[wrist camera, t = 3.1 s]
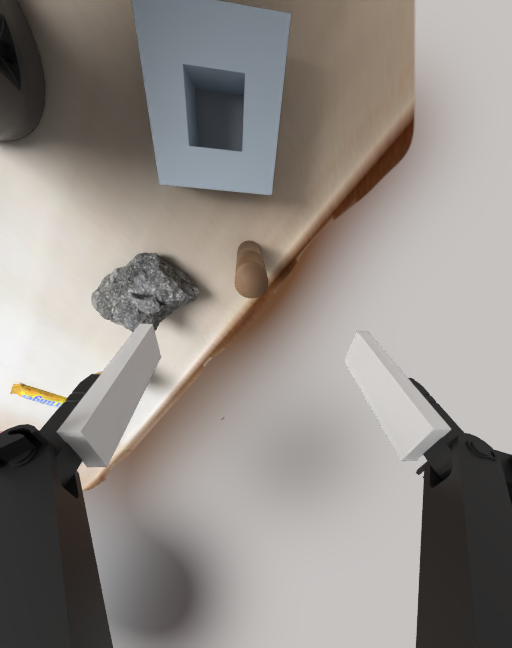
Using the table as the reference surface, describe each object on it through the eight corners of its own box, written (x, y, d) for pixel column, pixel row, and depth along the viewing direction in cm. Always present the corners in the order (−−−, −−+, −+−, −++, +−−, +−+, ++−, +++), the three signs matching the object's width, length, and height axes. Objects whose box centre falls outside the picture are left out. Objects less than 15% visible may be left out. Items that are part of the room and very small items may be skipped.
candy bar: (99, 405, 52) (94, 411, 50) (94, 412, 53) (90, 419, 52) (17, 379, 45) (9, 385, 44) (15, 389, 47) (7, 395, 45)
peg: (244, 268, 33) (245, 303, 23) (233, 247, 31) (228, 276, 21) (264, 257, 32) (273, 289, 22) (253, 236, 30) (258, 260, 20)
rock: (90, 292, 33) (88, 345, 29) (107, 226, 26) (107, 282, 22) (169, 305, 42) (177, 347, 38) (197, 258, 35) (212, 302, 30)
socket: (266, 193, 27) (271, 195, 22) (175, 184, 26) (159, 184, 21) (279, 54, 21) (290, 13, 16) (158, 35, 20) (129, -16, 15)
